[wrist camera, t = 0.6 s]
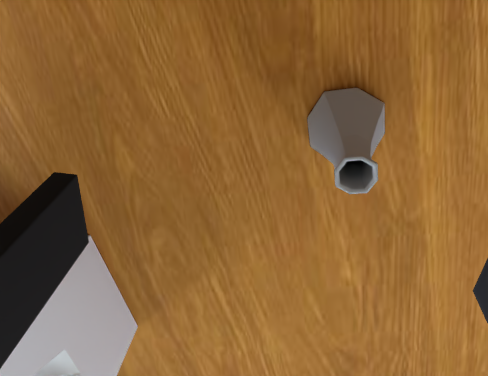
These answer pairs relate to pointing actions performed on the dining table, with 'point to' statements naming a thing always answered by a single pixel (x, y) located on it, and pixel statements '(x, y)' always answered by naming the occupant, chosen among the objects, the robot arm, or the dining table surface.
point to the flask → (348, 136)
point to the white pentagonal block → (77, 326)
